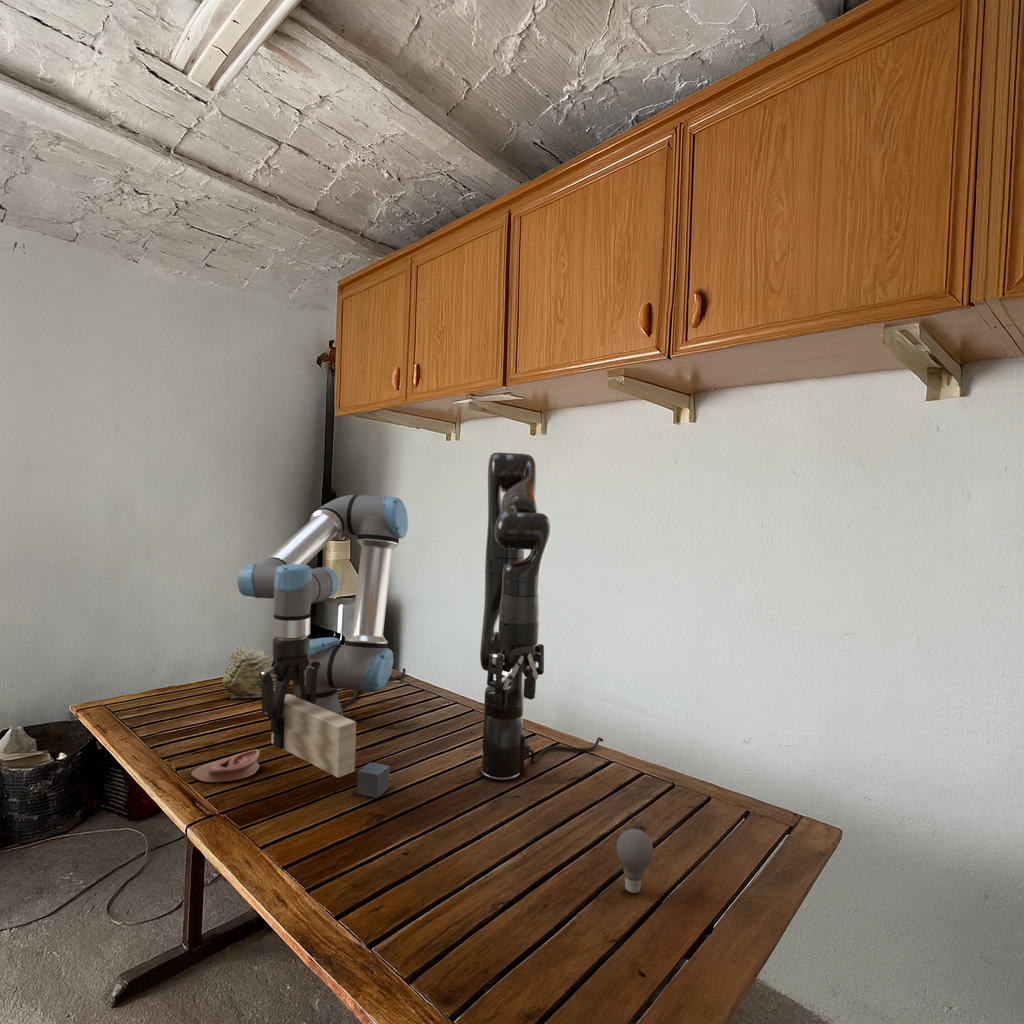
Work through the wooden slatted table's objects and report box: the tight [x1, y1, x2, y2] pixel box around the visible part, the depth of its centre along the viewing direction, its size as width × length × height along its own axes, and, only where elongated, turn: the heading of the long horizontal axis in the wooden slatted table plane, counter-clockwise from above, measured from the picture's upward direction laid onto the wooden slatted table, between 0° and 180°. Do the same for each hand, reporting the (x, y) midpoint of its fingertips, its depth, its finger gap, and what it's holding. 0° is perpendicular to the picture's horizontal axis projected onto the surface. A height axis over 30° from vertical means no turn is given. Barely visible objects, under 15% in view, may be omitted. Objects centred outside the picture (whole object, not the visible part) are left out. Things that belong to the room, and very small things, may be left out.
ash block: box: [270, 693, 357, 778], centre depth 132 cm, size 24×4×10 cm, turn 51°
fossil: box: [222, 646, 276, 699], centre depth 198 cm, size 9×18×15 cm, turn 132°
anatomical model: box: [190, 748, 261, 783], centre depth 143 cm, size 13×4×12 cm
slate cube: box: [356, 761, 391, 799], centre depth 137 cm, size 5×5×5 cm
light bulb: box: [615, 828, 654, 894], centre depth 106 cm, size 6×6×10 cm
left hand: (288, 743), depth 137 cm, fingers closed on ash block, 4 cm apart
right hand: (515, 703), depth 120 cm, fingers open, 8 cm apart
